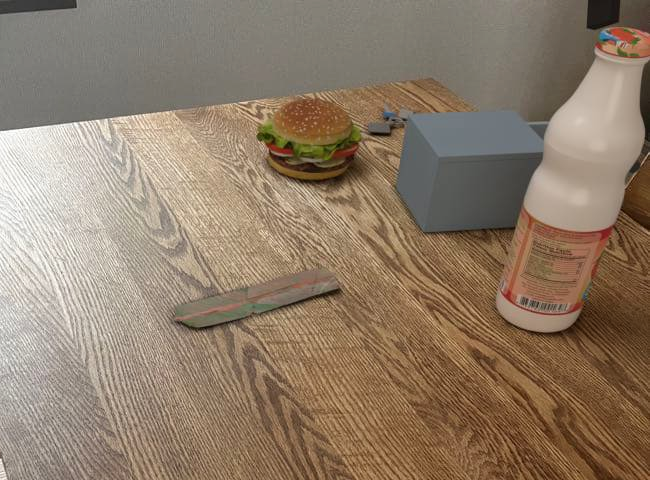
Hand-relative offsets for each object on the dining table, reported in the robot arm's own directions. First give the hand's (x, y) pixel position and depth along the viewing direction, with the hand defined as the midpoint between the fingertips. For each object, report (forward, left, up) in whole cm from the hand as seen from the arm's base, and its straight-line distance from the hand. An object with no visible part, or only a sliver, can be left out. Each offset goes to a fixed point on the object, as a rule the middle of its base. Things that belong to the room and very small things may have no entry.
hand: (602, 25), depth 84 cm
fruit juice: (+5, +13, -25) cm, 29 cm away
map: (+36, +7, -25) cm, 45 cm away
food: (+23, -27, -25) cm, 43 cm away
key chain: (+6, -40, -25) cm, 47 cm away
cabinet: (+5, -12, -25) cm, 28 cm away
